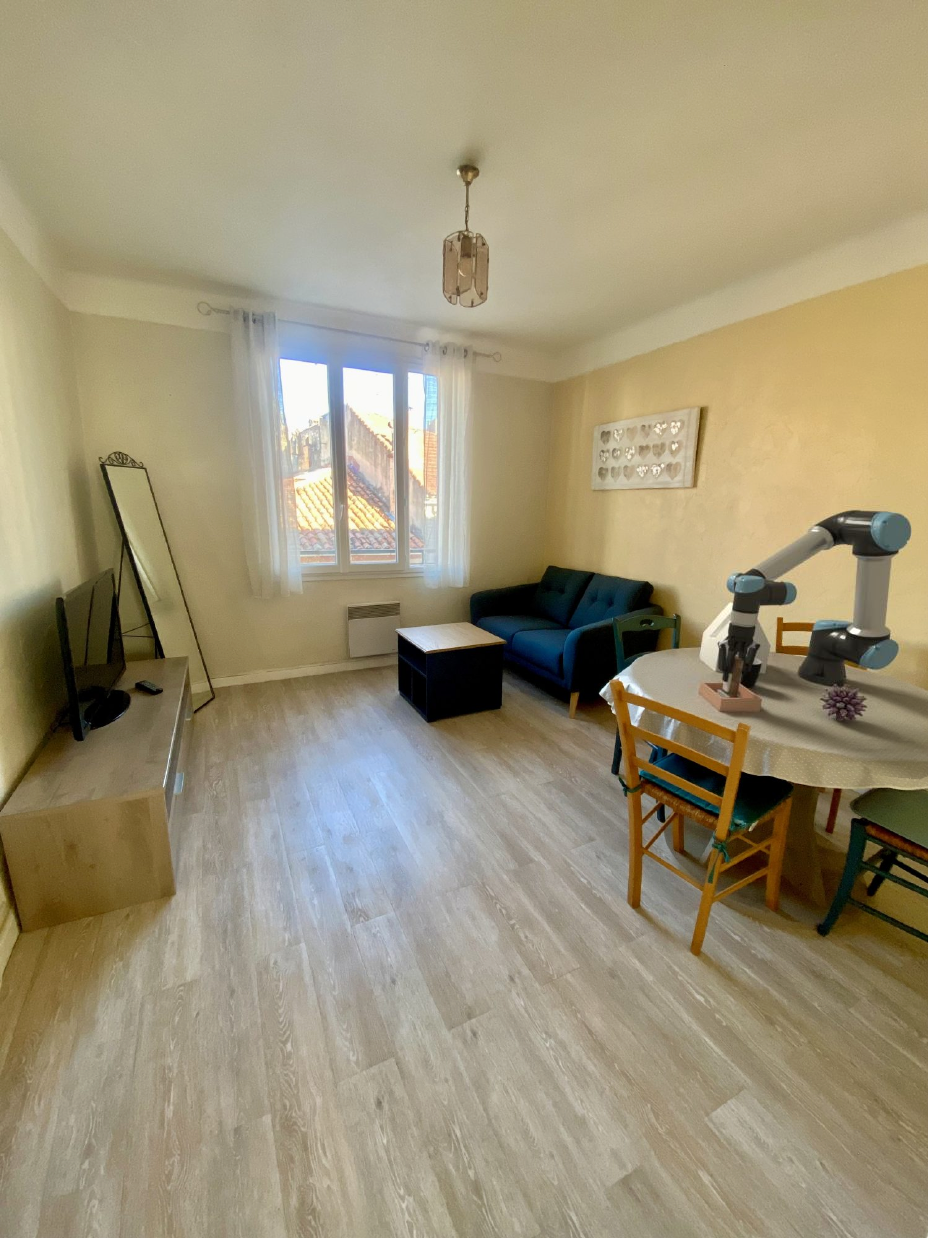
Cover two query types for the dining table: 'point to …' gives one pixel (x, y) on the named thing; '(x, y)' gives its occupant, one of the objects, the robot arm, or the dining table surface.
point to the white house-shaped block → (719, 634)
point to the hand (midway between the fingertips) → (730, 690)
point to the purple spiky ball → (843, 702)
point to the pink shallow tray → (724, 702)
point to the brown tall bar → (735, 677)
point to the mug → (752, 675)
